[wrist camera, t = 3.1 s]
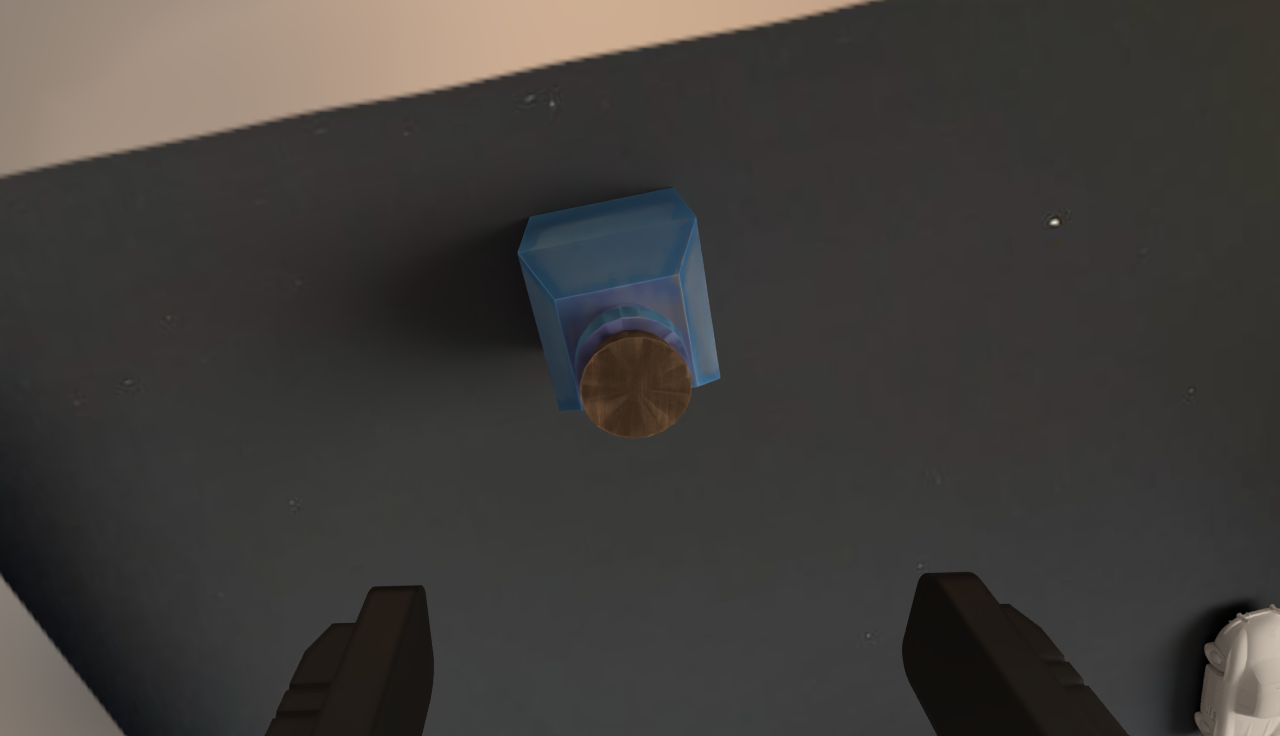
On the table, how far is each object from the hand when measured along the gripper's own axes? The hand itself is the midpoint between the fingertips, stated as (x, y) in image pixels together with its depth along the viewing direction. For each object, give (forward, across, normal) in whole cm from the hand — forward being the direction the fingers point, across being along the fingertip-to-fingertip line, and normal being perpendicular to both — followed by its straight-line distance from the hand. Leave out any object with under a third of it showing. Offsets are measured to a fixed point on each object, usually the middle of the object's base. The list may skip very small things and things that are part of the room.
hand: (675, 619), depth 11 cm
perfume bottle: (+21, 0, 0) cm, 21 cm away
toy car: (+21, -41, +26) cm, 53 cm away
